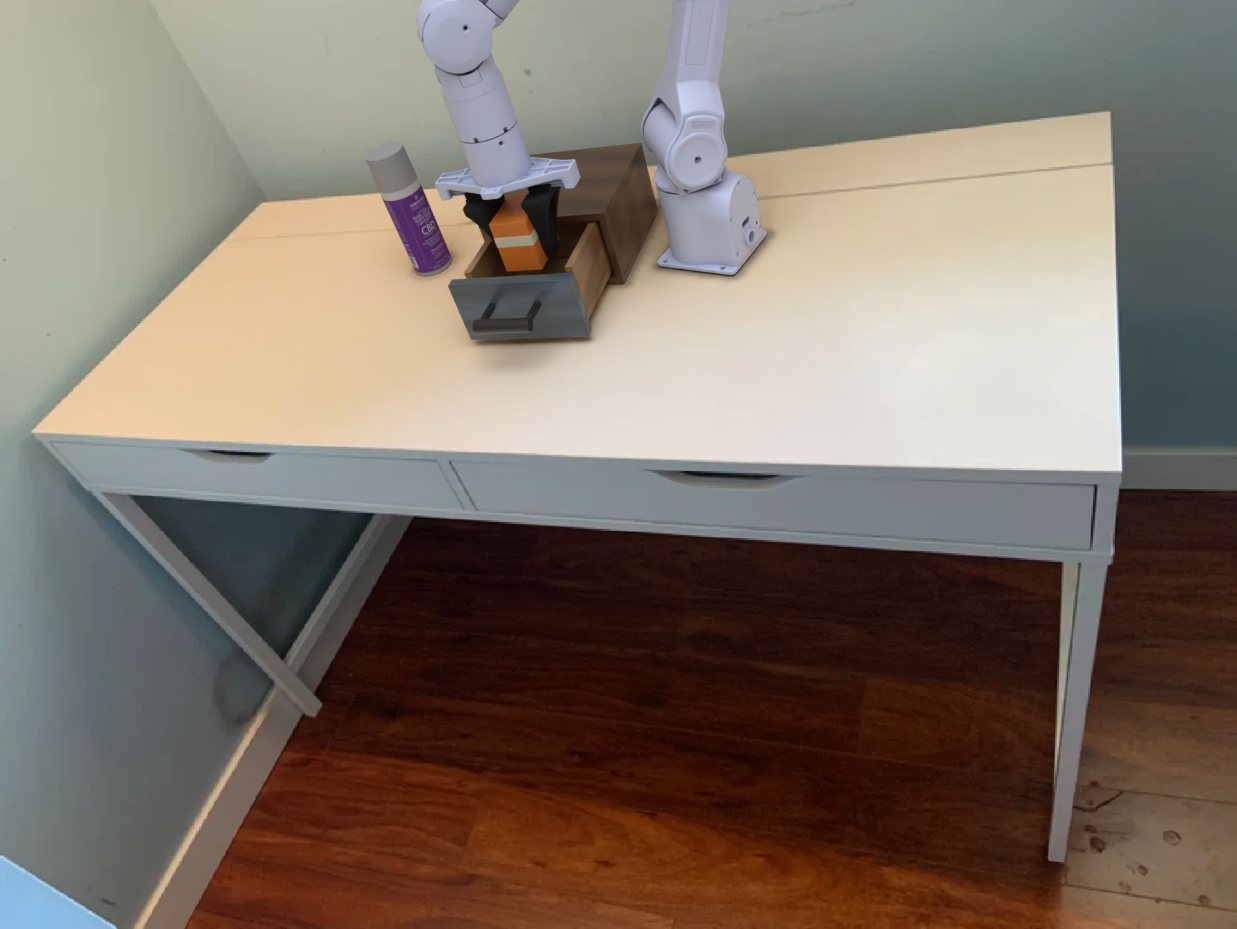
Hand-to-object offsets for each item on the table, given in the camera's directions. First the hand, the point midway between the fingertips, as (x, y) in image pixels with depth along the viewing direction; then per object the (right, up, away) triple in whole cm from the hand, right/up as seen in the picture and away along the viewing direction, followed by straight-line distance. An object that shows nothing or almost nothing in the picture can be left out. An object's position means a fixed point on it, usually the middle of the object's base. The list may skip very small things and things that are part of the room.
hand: (532, 253), depth 98 cm
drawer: (+1, -5, +3) cm, 6 cm away
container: (-13, +2, +18) cm, 23 cm away
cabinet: (+5, +3, +12) cm, 13 cm away
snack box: (0, 0, 0) cm, 0 cm away
